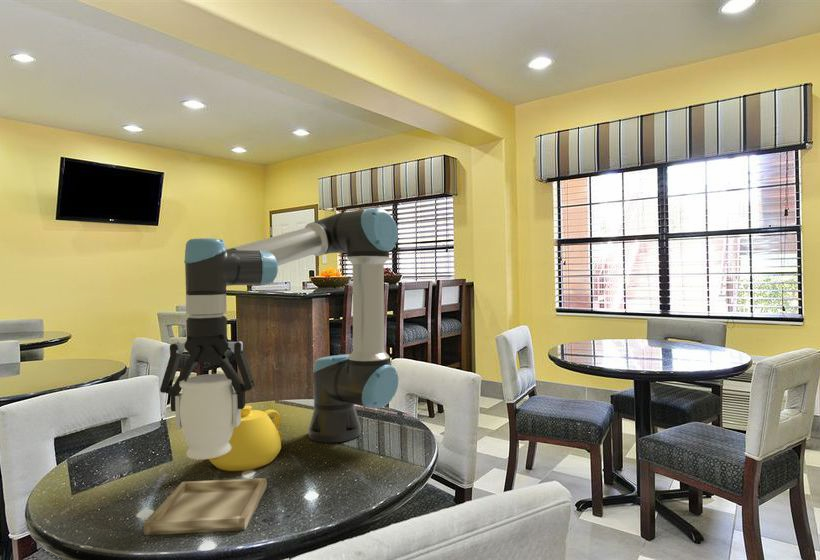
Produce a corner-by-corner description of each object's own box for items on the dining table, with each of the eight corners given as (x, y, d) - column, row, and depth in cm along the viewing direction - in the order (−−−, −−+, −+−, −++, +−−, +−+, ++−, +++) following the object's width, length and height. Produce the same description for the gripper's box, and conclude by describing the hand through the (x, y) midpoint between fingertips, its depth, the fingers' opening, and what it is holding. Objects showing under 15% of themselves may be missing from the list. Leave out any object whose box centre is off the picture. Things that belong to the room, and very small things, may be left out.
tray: (266, 487, 109) (266, 478, 109) (244, 530, 91) (244, 518, 91) (182, 491, 108) (182, 481, 108) (143, 535, 90) (143, 523, 90)
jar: (217, 464, 93) (215, 384, 93) (168, 461, 95) (166, 383, 95) (246, 445, 103) (245, 373, 103) (202, 442, 105) (201, 372, 105)
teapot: (214, 487, 110) (213, 426, 110) (175, 469, 121) (174, 413, 121) (303, 454, 129) (302, 402, 129) (262, 440, 140) (261, 393, 140)
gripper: (268, 313, 103) (270, 418, 103) (156, 315, 102) (158, 422, 102) (260, 316, 96) (262, 429, 96) (138, 318, 94) (141, 434, 94)
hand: (208, 426), depth 99 cm, fingers closed on jar, 10 cm apart
